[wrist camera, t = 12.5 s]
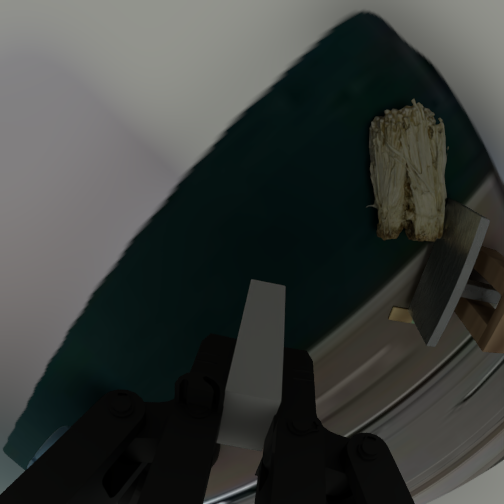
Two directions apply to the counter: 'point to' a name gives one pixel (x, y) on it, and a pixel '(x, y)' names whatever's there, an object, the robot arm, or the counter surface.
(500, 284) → the base
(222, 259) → the counter surface
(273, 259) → the counter surface
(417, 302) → the plate
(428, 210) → the mushroom
